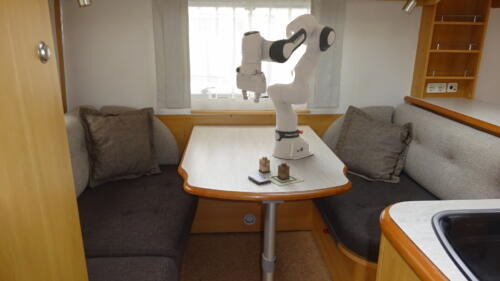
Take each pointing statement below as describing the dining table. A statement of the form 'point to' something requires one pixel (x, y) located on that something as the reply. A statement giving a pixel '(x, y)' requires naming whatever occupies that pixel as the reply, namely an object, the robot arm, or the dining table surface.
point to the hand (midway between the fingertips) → (250, 101)
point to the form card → (280, 183)
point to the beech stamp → (264, 165)
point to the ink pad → (259, 179)
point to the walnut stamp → (283, 171)
